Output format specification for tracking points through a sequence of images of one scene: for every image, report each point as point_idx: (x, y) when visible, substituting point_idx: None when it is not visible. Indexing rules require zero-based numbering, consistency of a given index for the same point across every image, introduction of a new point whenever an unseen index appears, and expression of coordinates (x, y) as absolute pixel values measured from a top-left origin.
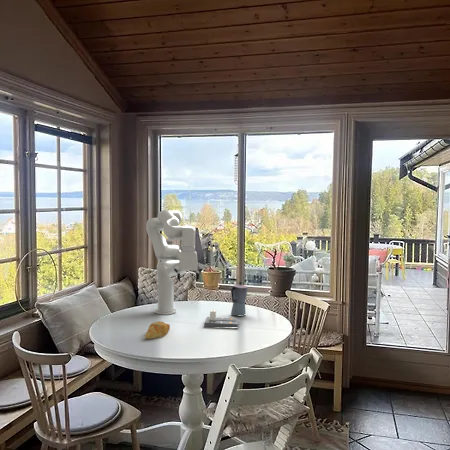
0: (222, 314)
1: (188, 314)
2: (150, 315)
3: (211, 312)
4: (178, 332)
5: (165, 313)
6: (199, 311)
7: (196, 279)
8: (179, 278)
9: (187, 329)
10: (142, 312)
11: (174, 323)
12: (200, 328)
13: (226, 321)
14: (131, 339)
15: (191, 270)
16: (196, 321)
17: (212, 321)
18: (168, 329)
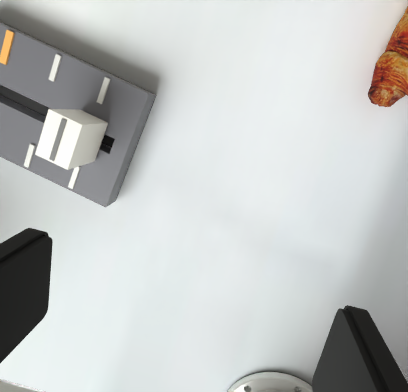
0: None
1: (172, 345)
2: None
3: (77, 120)
4: (328, 25)
5: (289, 378)
6: (107, 376)
7: (37, 243)
8: (368, 336)
9: (258, 75)
10: None
11: (292, 211)
12: (182, 77)
13: (22, 86)
14: None
15: (10, 383)
16: (167, 215)
17: (98, 99)
18: (400, 20)
